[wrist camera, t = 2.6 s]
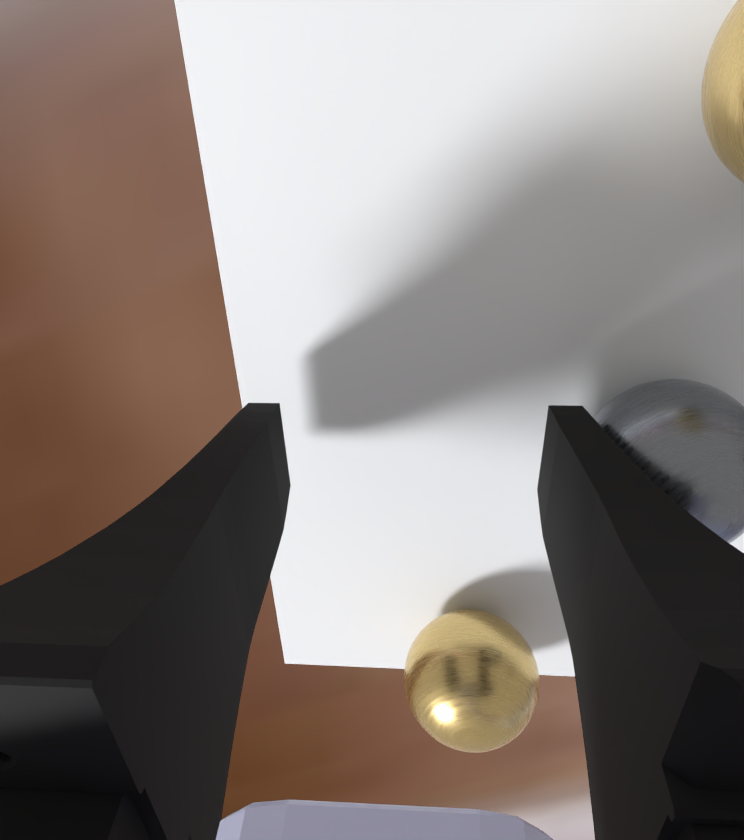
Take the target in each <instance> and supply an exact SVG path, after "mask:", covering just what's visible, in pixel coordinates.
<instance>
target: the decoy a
mask: <svg viewBox="0 0 744 840" xmlns="http://www.w3.org/2000/svg"><path fill="white" fill-rule="evenodd" d="M404 685H405V692H406V697H407V700H408V703H409V706H410V708H411V710H412V712H413V714H414V716H415V718H416V719H417V721H418V722H419V724H420V725H421V726H422V727H423V729H424V730H425V731H426V732H427V733H428V734H429V735H431V736H432V737H433V738H434V739H436V740H437V741H439V742H440V743H442V744H444V745H445V746H448V747H450V748H453V749H456V750H459V751H463V752H471V753H480V752H487V751H491V750H495V749H498V748H500V747H502V746H504V745H506V744H508V743H509V742H511V741H512V740H514V739H515V738H516V737H517V736H518V735H519V734H520V733H521V732H522V731H523V730H524V729H525V728H526V726H527V725H528V723H529V722H530V720H531V718H532V716H533V714H534V711H535V709H536V706H537V702H538V698H539V687H540V681H539V672H538V667H537V663H536V660H535V657H534V655H533V652H532V650H531V648H530V646H529V645H528V643H527V641H526V640H525V639H524V637H523V636H522V635H521V634H520V633H519V631H518V630H517V629H516V628H514V627H513V626H512V625H511V624H510V623H509V622H507V621H505V620H504V619H502V618H500V617H499V616H496V615H494V614H492V613H489V612H485V611H481V610H475V609H462V610H456V611H452V612H448V613H445V614H443V615H441V616H439V617H437V618H436V619H434V620H433V621H431V622H430V623H428V624H427V625H426V626H425V627H424V628H423V629H422V630H421V631H420V633H419V634H418V635H417V637H416V638H415V640H414V641H413V643H412V645H411V647H410V649H409V652H408V655H407V659H406V662H405V670H404Z"/></svg>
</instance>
